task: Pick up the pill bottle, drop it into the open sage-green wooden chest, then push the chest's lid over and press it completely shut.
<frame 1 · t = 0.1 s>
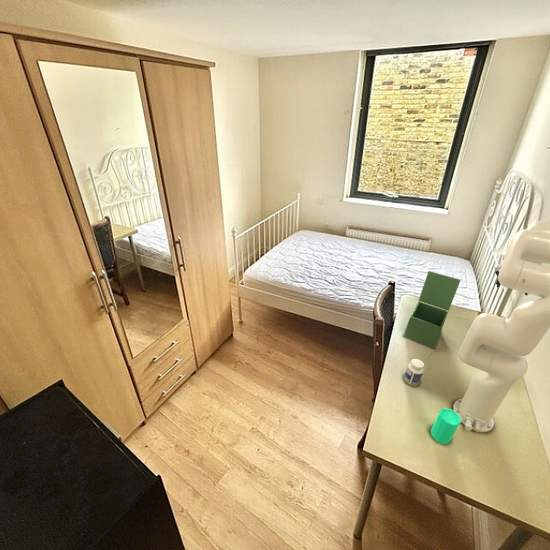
hand: (511, 289, 121), 31 cm above the table, tool pointing down, fingers open, 9 cm apart
pill bottle: (411, 380, 119), on the table
small box: (479, 335, 143), on the table
lid: (438, 290, 139), point 21 cm above the table, hinge at 95.0°
chest: (422, 333, 143), on the table
candle: (440, 435, 99), on the table
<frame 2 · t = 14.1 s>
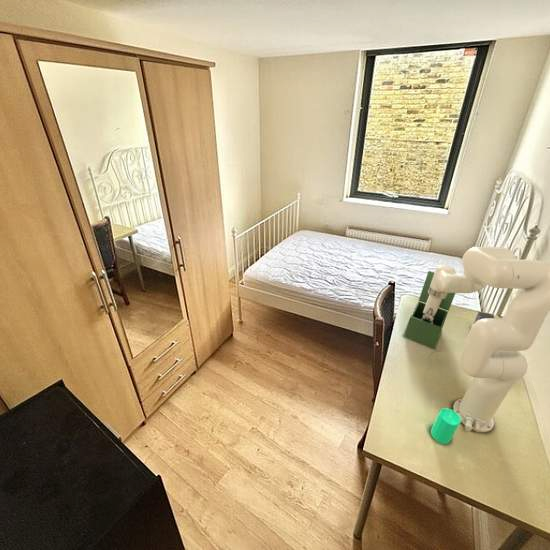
hand: (427, 321, 139), 8 cm above the table, tool pointing down, fingers open, 9 cm apart
pill bottle: (422, 333, 143), point 1 cm above the table, touching chest
everything else where it was.
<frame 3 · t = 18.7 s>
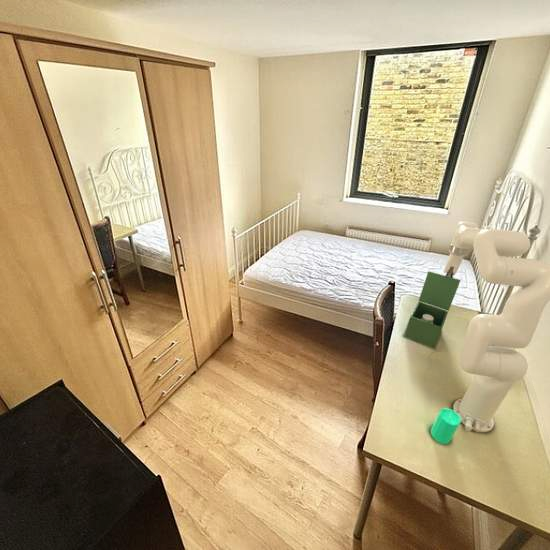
hand: (446, 283, 139), 24 cm above the table, tool pointing down, fingers closed
lid: (438, 290, 139), point 21 cm above the table, hinge at 93.4°
everything else where it was.
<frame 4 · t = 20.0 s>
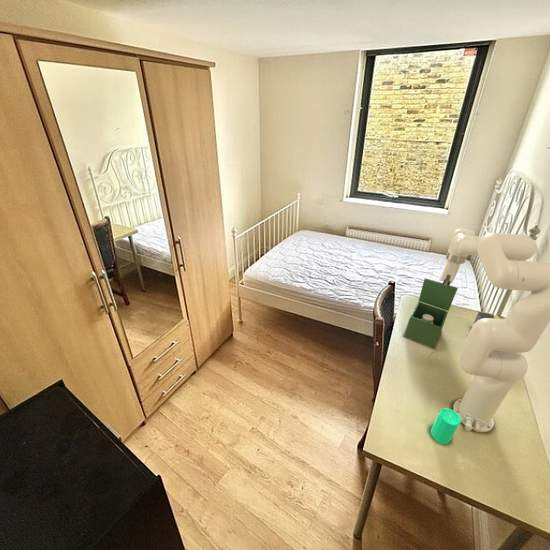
hand: (443, 292, 135), 22 cm above the table, tool pointing down, fingers closed
lid: (436, 294, 136), point 20 cm above the table, hinge at 70.0°
everything else where it was.
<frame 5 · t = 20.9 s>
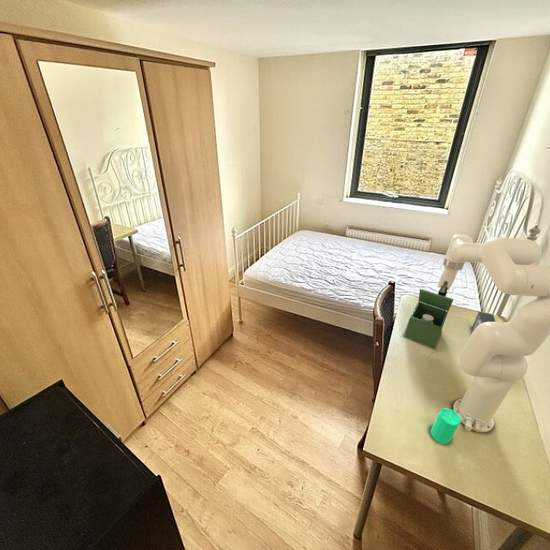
hand: (440, 298, 133), 21 cm above the table, tool pointing down, fingers closed
lid: (434, 300, 135), point 19 cm above the table, hinge at 48.1°, touching gripper
everything else where it was.
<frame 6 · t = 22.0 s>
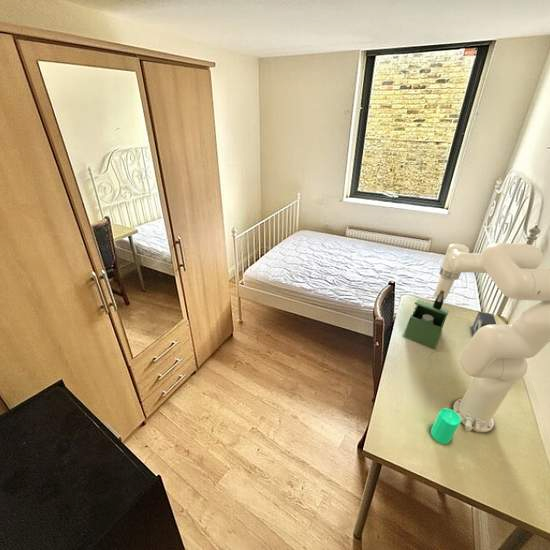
hand: (436, 307, 132), 18 cm above the table, tool pointing down, fingers closed
lid: (432, 306, 135), point 16 cm above the table, hinge at 24.6°, touching gripper
everything else where it was.
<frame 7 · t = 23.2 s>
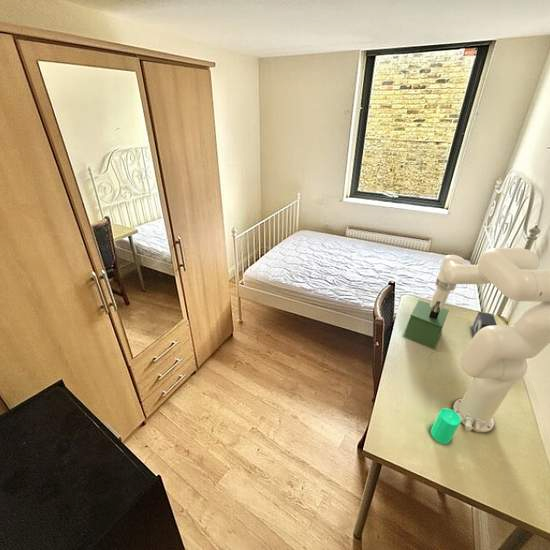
hand: (433, 317, 132), 14 cm above the table, tool pointing down, fingers closed
lid: (429, 312, 136), point 13 cm above the table, hinge at 2.8°, touching gripper
everything else where it was.
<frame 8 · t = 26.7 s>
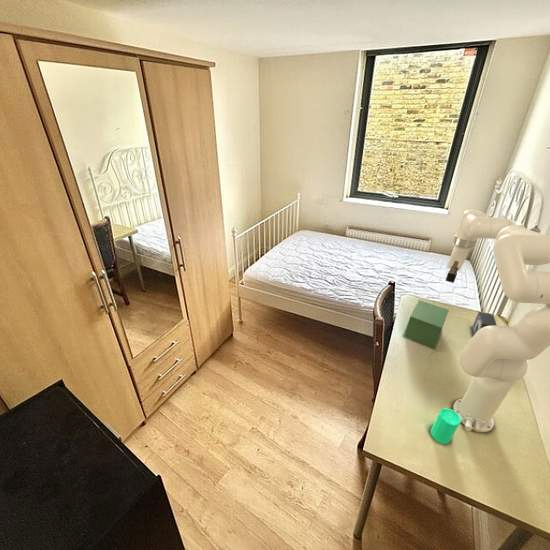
hand: (449, 281, 125), 32 cm above the table, tool pointing down, fingers closed
lid: (429, 313, 137), point 13 cm above the table, hinge at 0.0°
everything else where it was.
at the end: pill bottle inside the target area in the chest (0.6 cm from its centre), point 0.6 cm above the chest's base; lid at +0° (first picture: +95°) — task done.
